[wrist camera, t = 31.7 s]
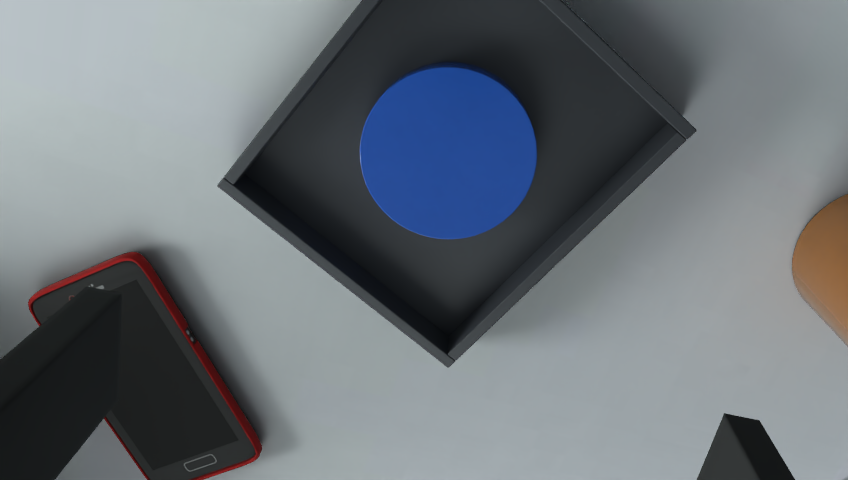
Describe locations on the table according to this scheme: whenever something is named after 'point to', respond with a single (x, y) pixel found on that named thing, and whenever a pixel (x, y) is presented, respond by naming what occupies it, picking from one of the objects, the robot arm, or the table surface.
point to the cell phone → (161, 378)
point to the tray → (511, 239)
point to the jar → (825, 266)
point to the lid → (448, 151)
